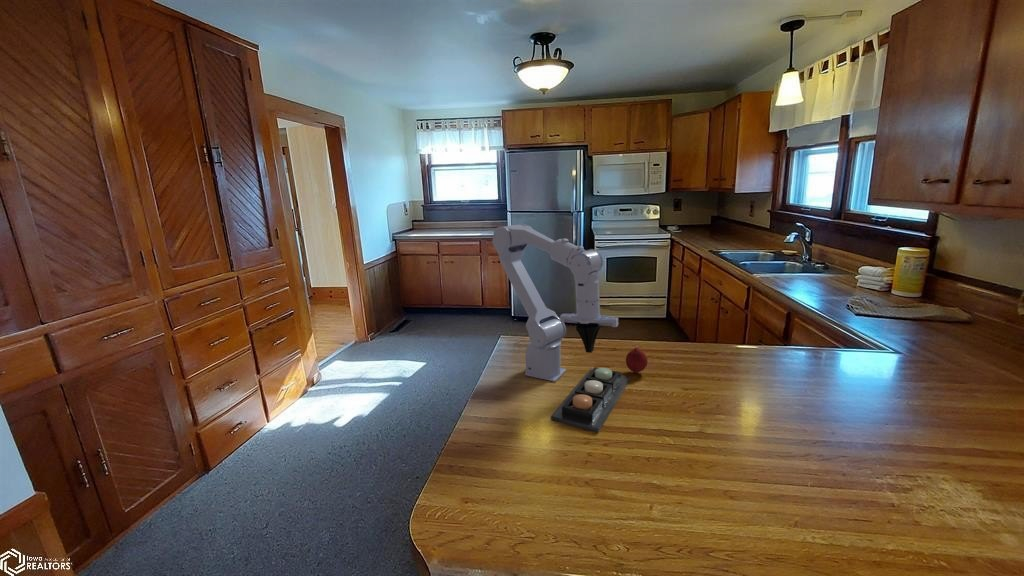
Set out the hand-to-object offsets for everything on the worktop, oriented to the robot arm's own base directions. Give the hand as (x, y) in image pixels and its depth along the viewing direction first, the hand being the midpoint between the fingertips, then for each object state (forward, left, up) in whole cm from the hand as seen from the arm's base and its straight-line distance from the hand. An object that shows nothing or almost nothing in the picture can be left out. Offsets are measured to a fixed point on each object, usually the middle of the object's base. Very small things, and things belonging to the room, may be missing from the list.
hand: (589, 351), depth 105 cm
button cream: (+3, -5, -9) cm, 11 cm away
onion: (+9, +14, -11) cm, 20 cm away
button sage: (+3, +3, -9) cm, 10 cm away
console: (+3, -5, -10) cm, 12 cm away
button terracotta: (+3, -13, -9) cm, 16 cm away
